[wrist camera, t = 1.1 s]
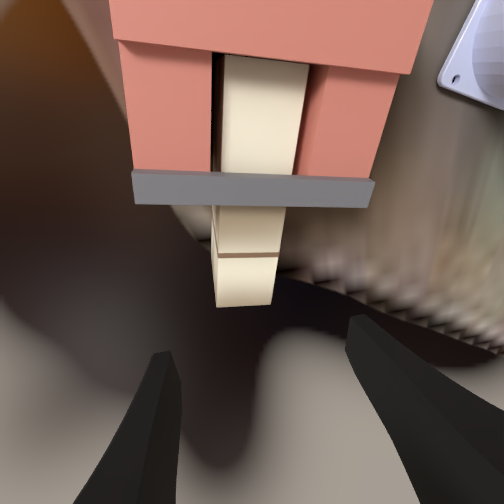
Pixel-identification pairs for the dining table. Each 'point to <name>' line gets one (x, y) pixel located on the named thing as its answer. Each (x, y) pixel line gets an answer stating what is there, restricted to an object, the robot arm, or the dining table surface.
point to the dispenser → (272, 47)
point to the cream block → (252, 169)
